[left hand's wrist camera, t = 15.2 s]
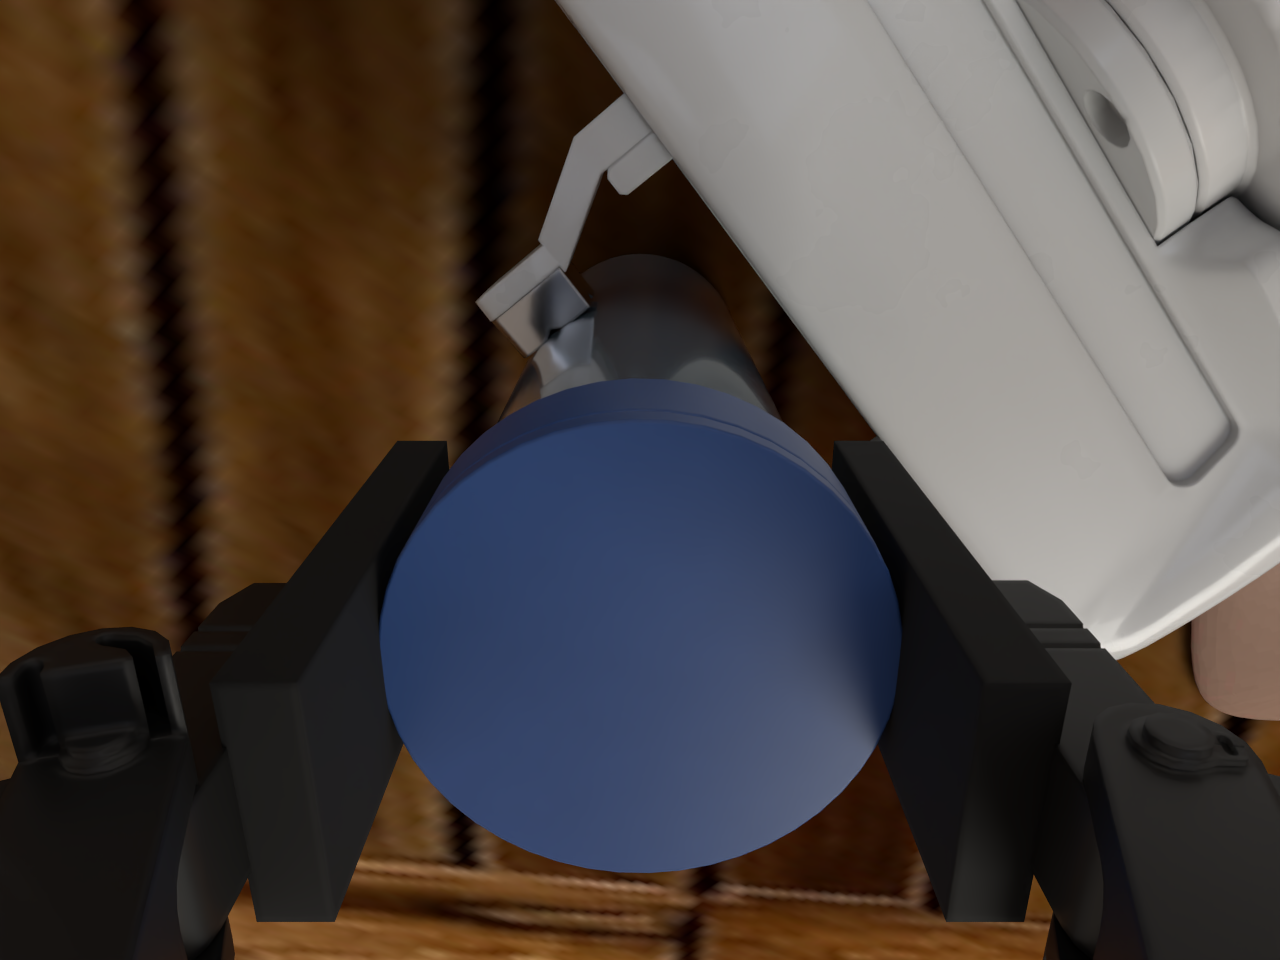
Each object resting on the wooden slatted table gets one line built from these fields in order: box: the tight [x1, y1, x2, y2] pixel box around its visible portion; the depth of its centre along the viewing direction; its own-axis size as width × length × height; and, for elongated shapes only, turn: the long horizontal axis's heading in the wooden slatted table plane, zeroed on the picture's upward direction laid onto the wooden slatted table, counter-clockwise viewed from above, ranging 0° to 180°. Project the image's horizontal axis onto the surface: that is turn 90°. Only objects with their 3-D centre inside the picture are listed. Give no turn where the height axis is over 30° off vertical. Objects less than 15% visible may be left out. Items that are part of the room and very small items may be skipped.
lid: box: [379, 378, 902, 873], centre depth 11 cm, size 6×6×2 cm
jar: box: [498, 254, 783, 423], centre depth 18 cm, size 5×5×15 cm
